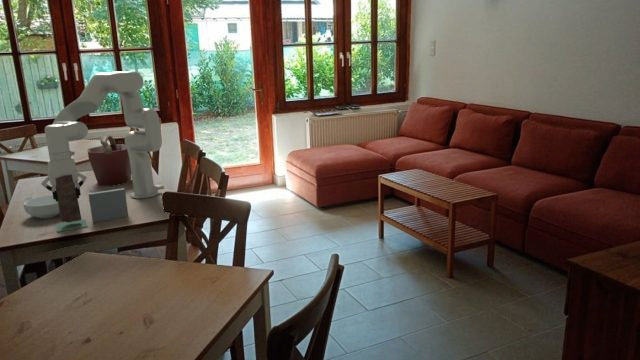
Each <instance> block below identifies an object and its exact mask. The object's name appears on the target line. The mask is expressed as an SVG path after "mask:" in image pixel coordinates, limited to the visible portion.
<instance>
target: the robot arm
mask: <svg viewBox="0 0 640 360" xmlns="http://www.w3.org/2000/svg"><path fill="white" fill-rule="evenodd" d="M143 86H144V78H143V75H141V73H139V72H137V71H111V72H98V73H94V74H93V76H91V78H90V80H89V81H88V83H87V84H86V86H85V87H84V89H83V90H82V92H81V94H80V96H79V97H77V98H76V99H75V100H74V101H72V102H71V103H69V104H68V105H66V106H65V107H64V108H62V109H61V110H60V111H59V112H58V114H57V116H56V117H55V119H54V120H53V122H52V124H48V125H46V126H45V127H44V133H45V134H44V135H45V141H46V146H47V150H48V151H47V152H48V157H49V159H48V160H47V172H48V175H47V177H46V178H45V179H44V180H42V182H41V183H40V184H41V185H42V187H44V188H45V189H47V190H48V191H49V192H51V193H52V195H53V199H56V202H57V201H58V199H57V193H56V178H60V177H63V176H69V175H72V178H73V182H74V184H75V187H76V193H77V198H78V199H80V196H82V195H81V193H82V192H81V187H82V186H83V185H84V183H85V182H86V180H87V178H88V177H87V176H86V175H84V174H82V173H80V172H78V170H77V166H76V161H75V159H74V157H73V155H74V156H75V155H76V153H75V151H71V149H70V143H69V142H72V141H79V140H80V141H81V140H83V139H85V138H86V136H88V133H89V129H88V127H87V125H86V124H85V123H84V122H82V121H77V120H79V119H80V118H82V117H84V116H86V115H90V114H92V113H94V112H96V111H98V110H99V109H100V107H101V106H102V104H103V102H104V101H105V99H106V98H107V95H108V94H118V96H119V97H120V100H121V104H122V109H123V116H124V122H125V124H126V126H127V127H128V128H131V129H142V130H131V131H129V132H127V133H126V135H125V136H124V145H126V148H127V151H128V154H129V160H130V167H131V181H132V188H133V192H131V193H130V197H131V198H132V199H148V198H153V197H155V196H157V195H158V194H159V192H158V190H164V189H165V185H163V184H162V185H161V184H157V185H156V184H155V183H154V177H153V169H152V168H153V167H152V161H151V156H150V154H149V153H150V152H153V153H154V152H158V151H159V150H160V149H161V147H162V144H163V137H162V130H161V123H160V117H159V114H158V112H157V111H156V110H155V109H153V108H149V107H144V106H143V103H142V97H141V94H140V93H139V91H140V90H141V89H142V88H143ZM143 129H144V130H143ZM148 152H149V153H148ZM79 178H81V180H80V181H79ZM48 182H49V183H50V185H49V184H48Z"/></svg>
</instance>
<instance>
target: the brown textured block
mask: <svg viewBox="0 0 640 360" xmlns="http://www.w3.org/2000/svg"><path fill="white" fill-rule="evenodd" d="M55 191H56V193H57V199H58V205H59V211H60V213H59V216H60V221H61V222H62V223H66V222H74V221H80V220H82V215H81V214H82V213H81V210H80V204H79V198H77V193H76V186H75V184H74V182H73V178H72V175H69V176H63V177H60V178H56V189H55Z"/></svg>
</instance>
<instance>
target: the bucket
mask: <svg viewBox="0 0 640 360" xmlns="http://www.w3.org/2000/svg"><path fill="white" fill-rule="evenodd" d="M99 141H100V143H101V145H98V146H93V147H90V148H87V155H88V160H89V163H90V166H91V168H92V171H93V174H94V176H95V177H94V178H95V180H96V182H97V185H98V186H100V187H113V185H115V186H119V185H118V184H120V185H124V184H123V183H126V182H127V183H129V182H130V181H131V180H132V175H131V167H130V160H129V154H128V151H127V148H126V145H125V143H122V144H121V143H120V144H119V143H118V144H116V143H117V142H116V140H115V138H114V137H113V136H112V135H104V136H103V137H101V139H100V140H99ZM130 179H131V180H130ZM129 180H130V181H129ZM127 183H126V184H127Z"/></svg>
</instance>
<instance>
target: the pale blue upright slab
mask: <svg viewBox="0 0 640 360" xmlns="http://www.w3.org/2000/svg"><path fill="white" fill-rule="evenodd" d="M87 195H88V201H89V207H90V214H91V221H92V222H93V223H96V222H101V221H102V222H104V221H109V220H114V219H118V218H127V217H129V209H128V203H127V194H126V189H125V188H124V187H122V188H117V189H115V188H114V189H109V190H102V191H96V192H89V193H87Z"/></svg>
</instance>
